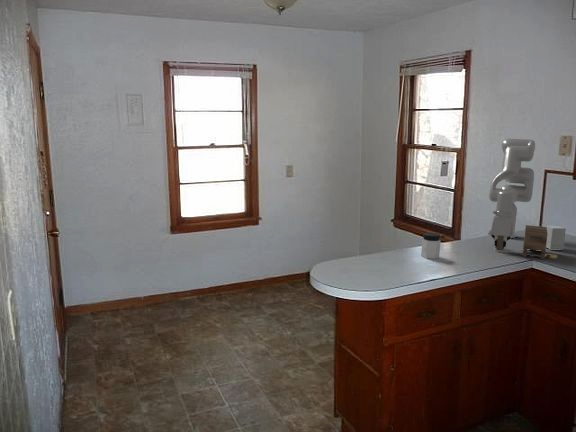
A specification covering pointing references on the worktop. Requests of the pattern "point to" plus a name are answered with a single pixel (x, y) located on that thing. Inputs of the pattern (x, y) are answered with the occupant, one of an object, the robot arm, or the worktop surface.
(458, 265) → the worktop surface
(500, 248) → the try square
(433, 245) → the jar
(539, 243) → the cabinet
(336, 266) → the worktop surface
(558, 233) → the supplement box
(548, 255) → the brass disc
